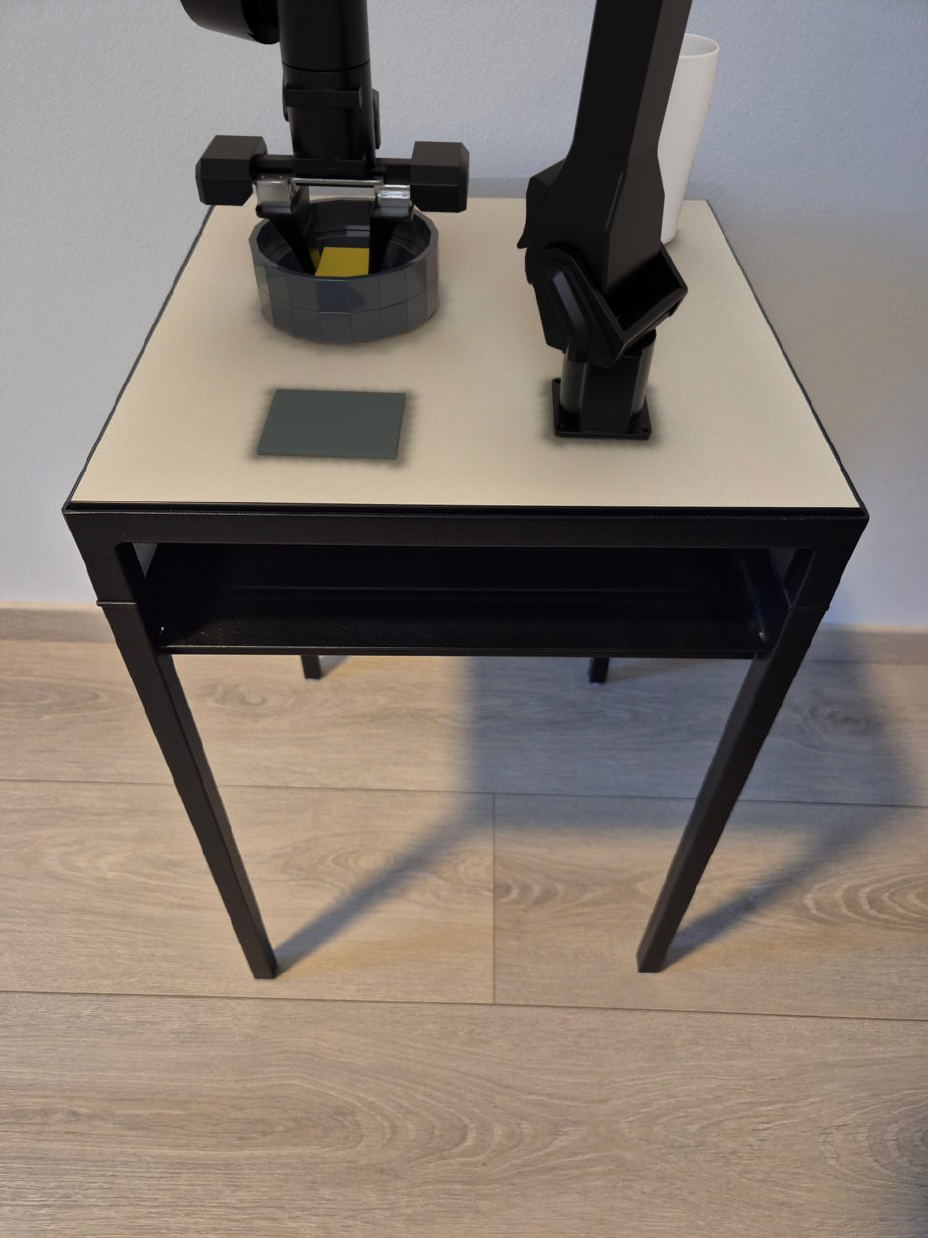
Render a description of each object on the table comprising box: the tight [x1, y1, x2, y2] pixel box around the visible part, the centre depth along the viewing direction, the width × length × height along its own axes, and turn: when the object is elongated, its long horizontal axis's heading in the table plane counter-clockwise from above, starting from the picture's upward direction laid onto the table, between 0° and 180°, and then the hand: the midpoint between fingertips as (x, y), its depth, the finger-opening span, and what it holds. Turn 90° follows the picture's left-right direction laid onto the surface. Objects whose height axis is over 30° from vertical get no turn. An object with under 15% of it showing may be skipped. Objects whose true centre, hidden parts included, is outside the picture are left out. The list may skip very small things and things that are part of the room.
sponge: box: [315, 247, 369, 277], centre depth 67 cm, size 6×4×3 cm, turn 178°
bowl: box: [247, 196, 441, 344], centre depth 67 cm, size 14×14×6 cm
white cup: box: [658, 32, 721, 246], centre depth 73 cm, size 7×7×15 cm
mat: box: [256, 388, 406, 460], centre depth 58 cm, size 7×9×1 cm
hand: (346, 288), depth 67 cm, fingers closed on sponge, 4 cm apart
